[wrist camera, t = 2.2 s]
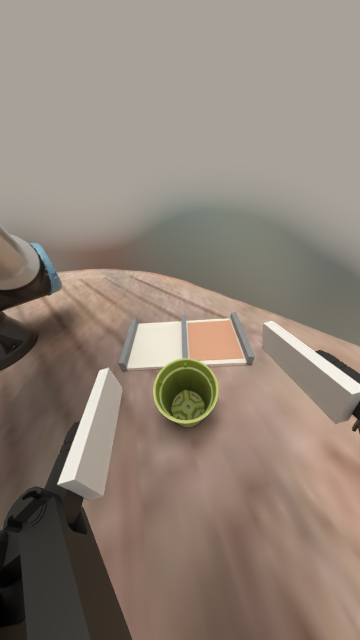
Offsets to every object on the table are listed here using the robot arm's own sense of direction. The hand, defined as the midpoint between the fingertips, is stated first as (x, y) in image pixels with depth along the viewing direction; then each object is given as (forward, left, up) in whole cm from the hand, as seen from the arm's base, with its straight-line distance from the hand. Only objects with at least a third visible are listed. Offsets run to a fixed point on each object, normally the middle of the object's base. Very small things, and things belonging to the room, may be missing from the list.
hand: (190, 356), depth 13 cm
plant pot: (+1, +3, -20) cm, 20 cm away
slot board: (+8, +16, -20) cm, 26 cm away
